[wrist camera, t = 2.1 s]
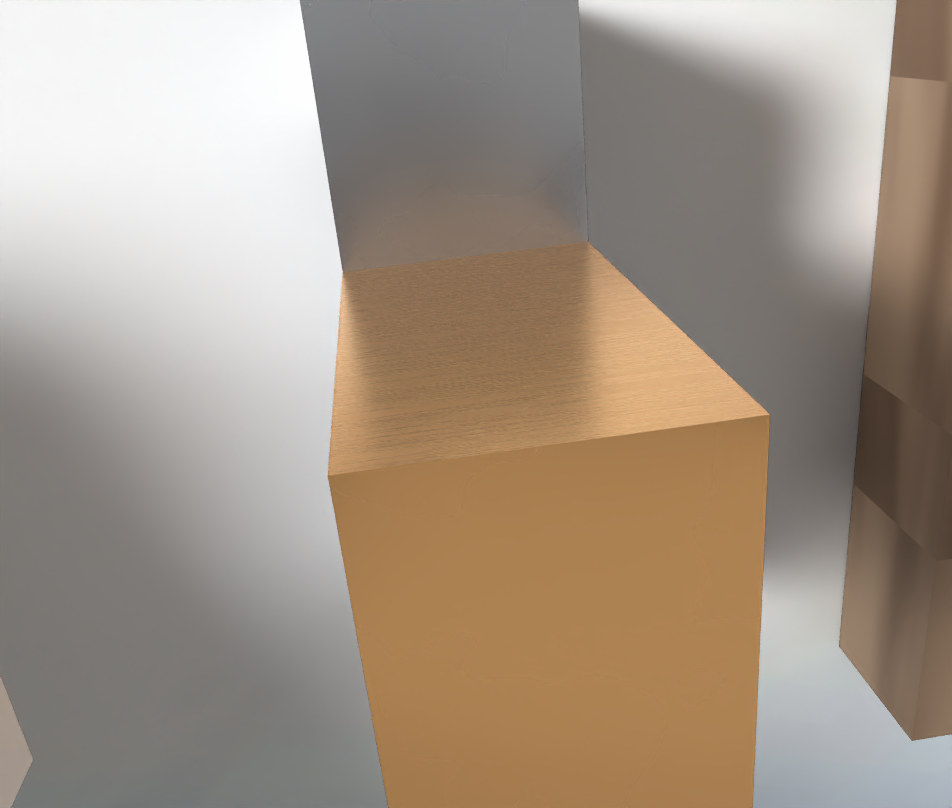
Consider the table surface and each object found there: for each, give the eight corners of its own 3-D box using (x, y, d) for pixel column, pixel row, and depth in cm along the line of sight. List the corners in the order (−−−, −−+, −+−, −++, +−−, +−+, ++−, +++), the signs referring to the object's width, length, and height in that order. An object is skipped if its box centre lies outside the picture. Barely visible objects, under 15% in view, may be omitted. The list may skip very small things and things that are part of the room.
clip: (398, 527, 24) (440, 1092, 11) (320, 6, 19) (235, -33, 6) (542, 507, 24) (742, 1035, 12) (504, -12, 19) (792, -87, 6)
